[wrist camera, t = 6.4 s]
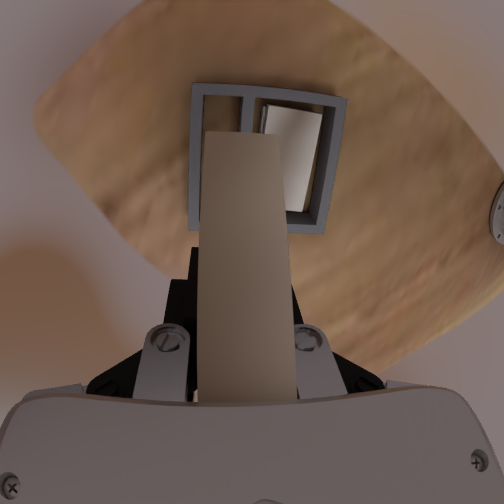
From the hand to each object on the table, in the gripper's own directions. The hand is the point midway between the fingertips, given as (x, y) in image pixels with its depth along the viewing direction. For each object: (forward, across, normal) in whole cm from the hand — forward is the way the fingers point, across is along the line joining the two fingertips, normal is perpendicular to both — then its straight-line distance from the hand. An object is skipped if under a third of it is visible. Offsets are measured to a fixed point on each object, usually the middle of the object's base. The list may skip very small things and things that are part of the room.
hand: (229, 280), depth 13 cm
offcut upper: (+20, -6, 0) cm, 21 cm away
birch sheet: (+3, 0, +6) cm, 6 cm away
